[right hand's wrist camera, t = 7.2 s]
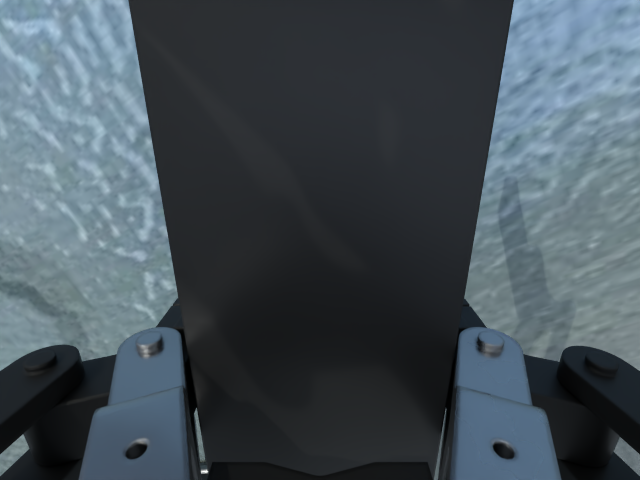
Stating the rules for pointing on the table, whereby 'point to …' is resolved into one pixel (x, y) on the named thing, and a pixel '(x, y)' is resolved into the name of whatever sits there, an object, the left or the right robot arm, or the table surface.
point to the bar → (321, 213)
